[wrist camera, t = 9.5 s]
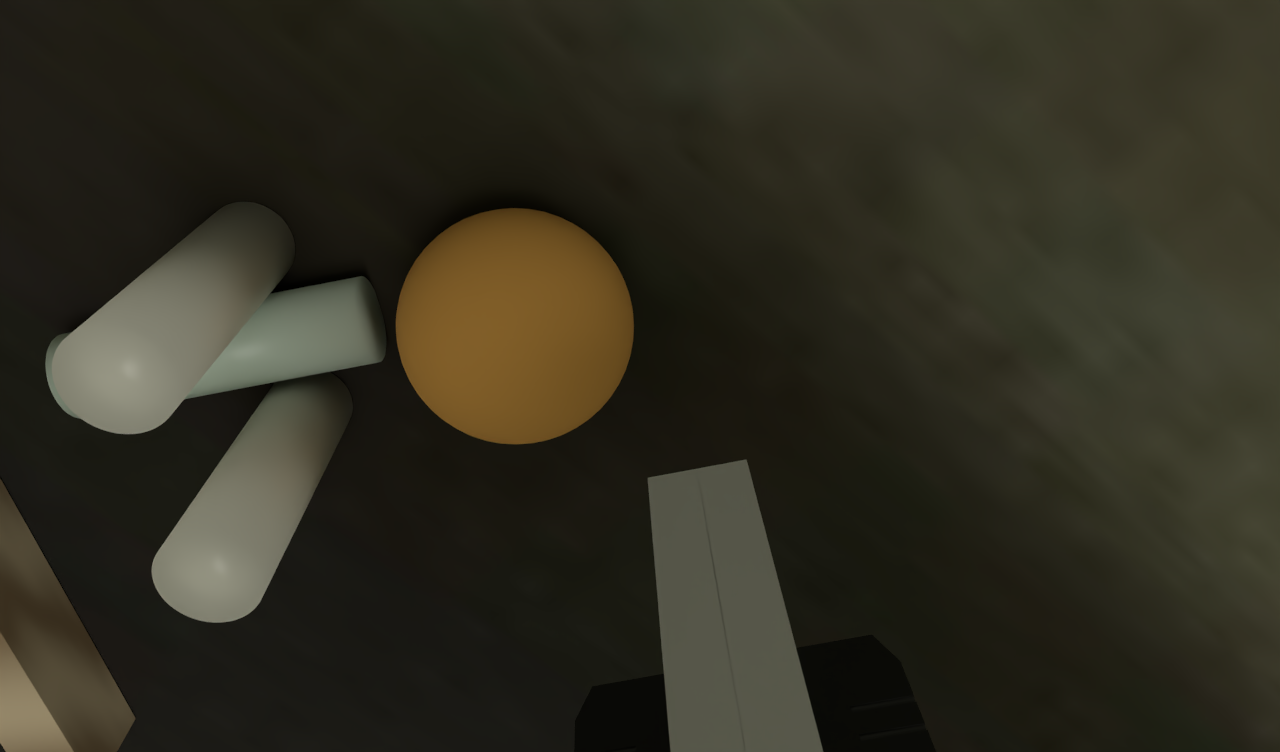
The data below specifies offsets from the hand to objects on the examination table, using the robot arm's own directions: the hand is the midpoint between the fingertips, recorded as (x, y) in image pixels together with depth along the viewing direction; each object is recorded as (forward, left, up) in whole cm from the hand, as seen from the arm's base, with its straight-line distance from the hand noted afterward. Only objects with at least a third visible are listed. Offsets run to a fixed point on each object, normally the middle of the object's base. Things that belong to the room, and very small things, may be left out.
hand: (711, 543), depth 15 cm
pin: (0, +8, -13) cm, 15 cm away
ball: (0, +4, -11) cm, 12 cm away
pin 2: (-3, +11, -14) cm, 18 cm away
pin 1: (+2, +11, -14) cm, 18 cm away
